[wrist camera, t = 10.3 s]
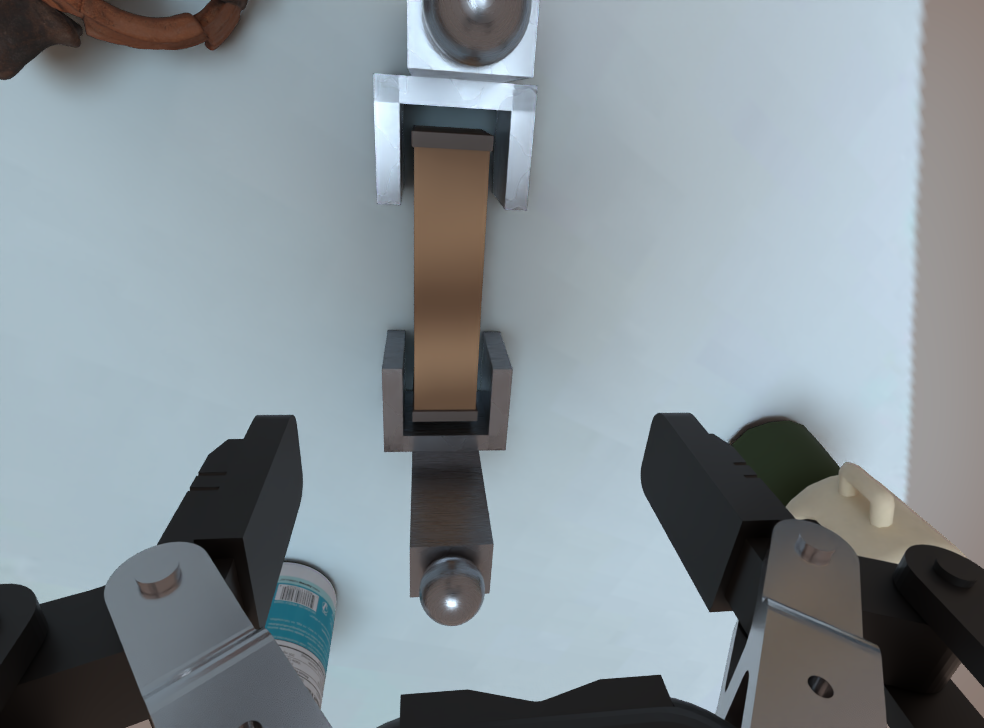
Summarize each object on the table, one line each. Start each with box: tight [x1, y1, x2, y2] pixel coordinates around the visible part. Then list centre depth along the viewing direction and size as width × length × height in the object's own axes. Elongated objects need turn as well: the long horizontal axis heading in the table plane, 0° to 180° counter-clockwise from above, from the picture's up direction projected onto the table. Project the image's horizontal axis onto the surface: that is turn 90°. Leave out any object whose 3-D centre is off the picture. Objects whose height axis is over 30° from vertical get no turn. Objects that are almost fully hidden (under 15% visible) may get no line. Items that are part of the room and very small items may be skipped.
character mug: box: [732, 421, 968, 564], centre depth 33 cm, size 11×7×13 cm, turn 15°
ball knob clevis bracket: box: [373, 0, 540, 626], centre depth 24 cm, size 24×7×14 cm, turn 176°
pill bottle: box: [265, 562, 336, 709], centre depth 33 cm, size 8×7×14 cm
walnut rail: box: [412, 125, 494, 422], centre depth 28 cm, size 14×3×5 cm, turn 176°
